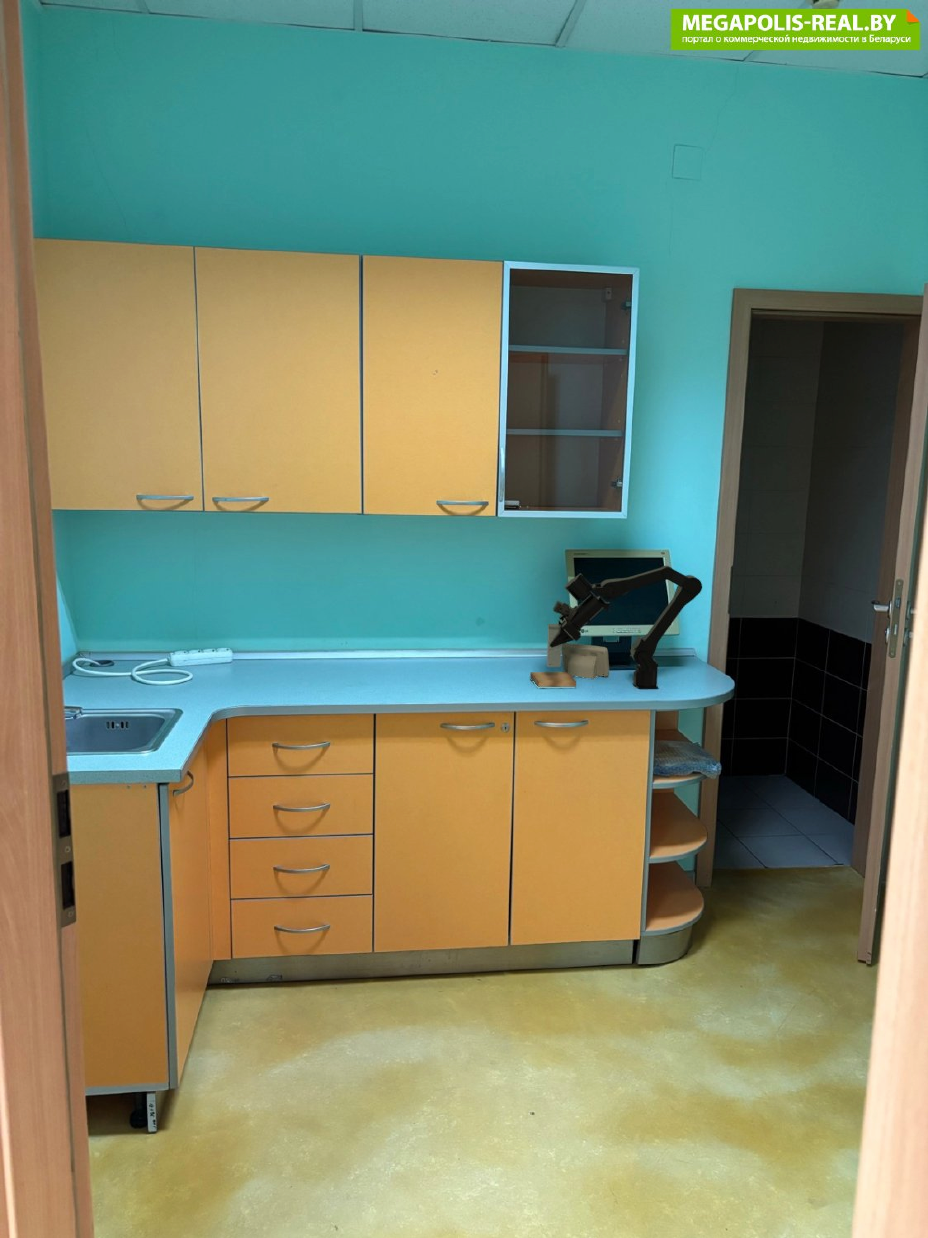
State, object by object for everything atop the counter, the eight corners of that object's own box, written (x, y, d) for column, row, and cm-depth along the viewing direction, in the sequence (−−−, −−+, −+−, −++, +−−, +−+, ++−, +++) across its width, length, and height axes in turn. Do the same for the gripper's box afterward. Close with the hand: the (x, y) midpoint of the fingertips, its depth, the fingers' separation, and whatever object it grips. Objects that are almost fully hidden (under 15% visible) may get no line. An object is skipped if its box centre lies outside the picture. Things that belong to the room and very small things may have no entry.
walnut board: (566, 679, 304) (566, 671, 303) (575, 688, 292) (576, 680, 292) (530, 679, 302) (530, 672, 302) (538, 689, 290) (538, 681, 290)
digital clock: (611, 677, 308) (613, 645, 306) (598, 682, 301) (599, 649, 299) (569, 669, 318) (571, 638, 316) (555, 674, 311) (556, 642, 309)
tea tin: (559, 663, 298) (561, 624, 296) (560, 667, 293) (562, 627, 291) (546, 663, 298) (547, 623, 296) (547, 666, 293) (548, 626, 291)
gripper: (566, 588, 301) (531, 621, 303) (571, 597, 282) (533, 632, 285) (590, 612, 302) (554, 645, 304) (596, 623, 284) (558, 658, 286)
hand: (550, 644), depth 295 cm, fingers closed on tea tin, 5 cm apart
